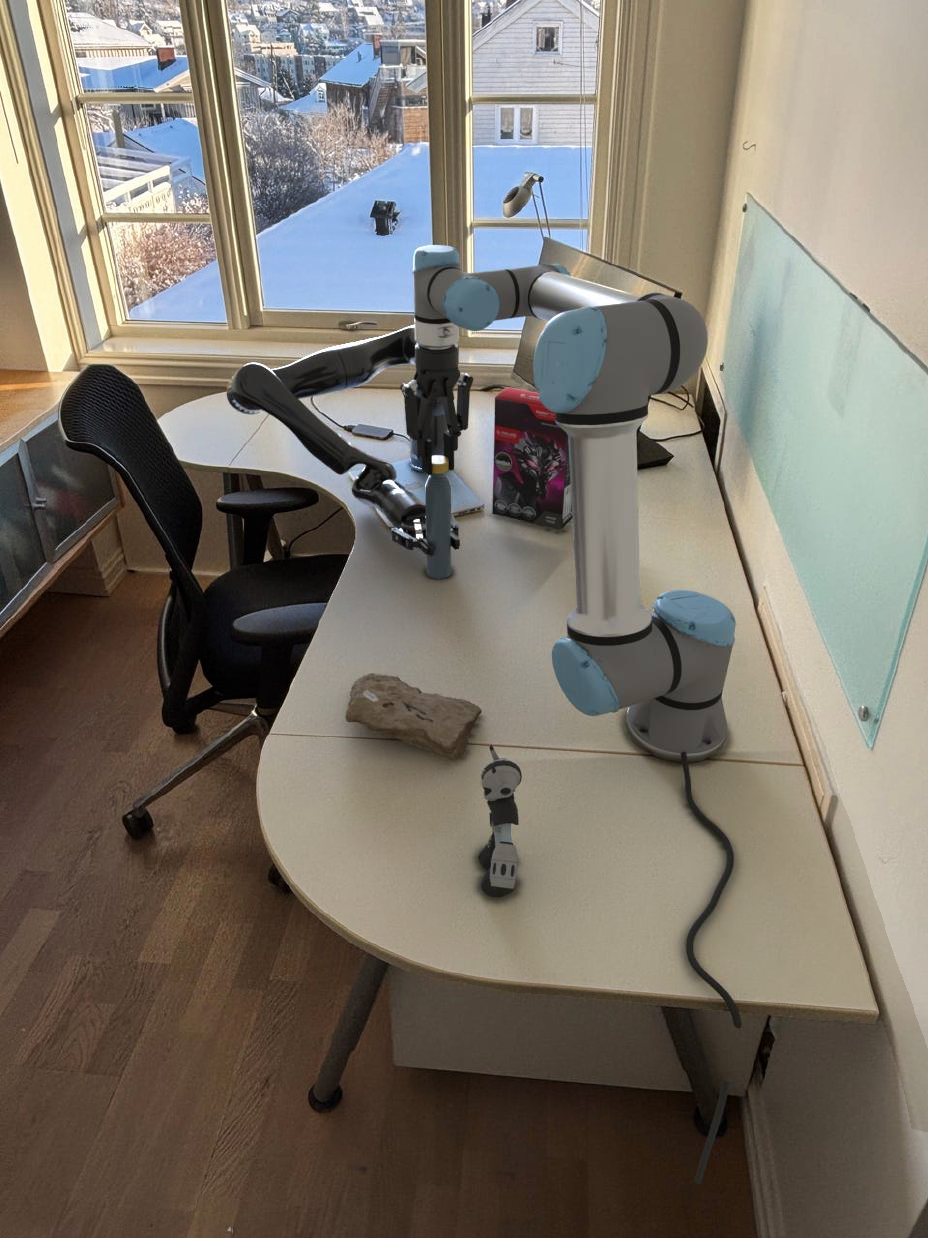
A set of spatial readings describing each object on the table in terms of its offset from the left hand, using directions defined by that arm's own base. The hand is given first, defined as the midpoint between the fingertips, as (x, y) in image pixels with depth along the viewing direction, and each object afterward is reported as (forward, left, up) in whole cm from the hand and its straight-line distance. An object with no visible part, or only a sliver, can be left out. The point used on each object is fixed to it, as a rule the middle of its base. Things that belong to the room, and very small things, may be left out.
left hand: (445, 548), depth 177 cm
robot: (+74, +3, -7) cm, 74 cm away
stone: (+44, -8, -7) cm, 46 cm away
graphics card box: (-24, +20, -7) cm, 32 cm away
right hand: (-2, -1, +15) cm, 16 cm away
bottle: (-2, -1, -7) cm, 7 cm away
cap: (-2, -1, +17) cm, 17 cm away
